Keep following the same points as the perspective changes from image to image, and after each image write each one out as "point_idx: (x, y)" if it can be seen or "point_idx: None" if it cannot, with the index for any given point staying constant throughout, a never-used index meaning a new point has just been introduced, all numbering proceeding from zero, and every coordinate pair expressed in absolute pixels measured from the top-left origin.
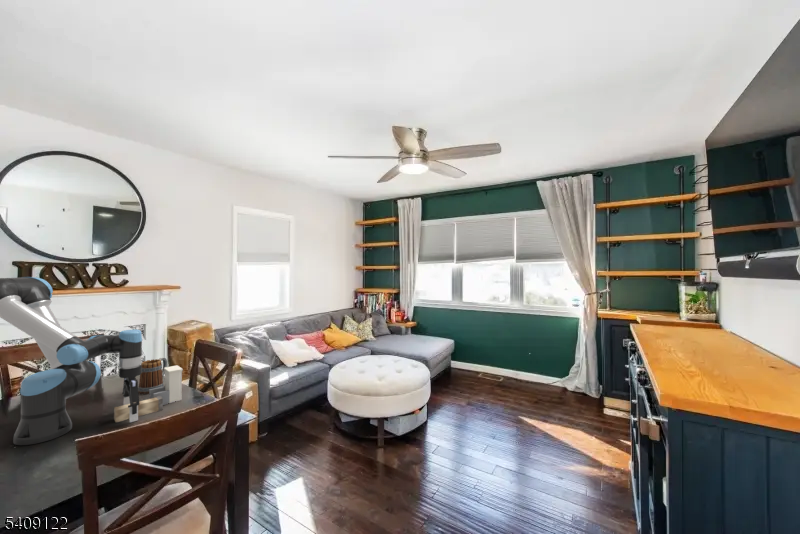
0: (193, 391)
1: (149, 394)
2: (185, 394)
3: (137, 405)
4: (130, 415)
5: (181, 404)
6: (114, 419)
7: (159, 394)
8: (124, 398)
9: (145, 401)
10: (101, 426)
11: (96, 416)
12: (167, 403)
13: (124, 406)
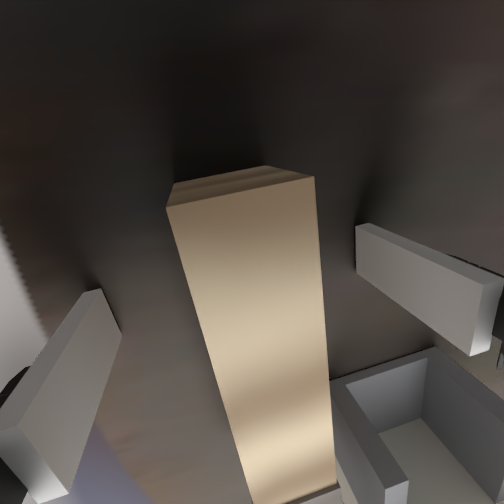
0: None
1: (488, 389)
2: None
3: (37, 489)
4: (55, 338)
5: None
6: (251, 168)
7: (375, 496)
8: (473, 287)
9: (286, 440)
10: (133, 58)
11: (450, 11)
12: None
13: (265, 290)
